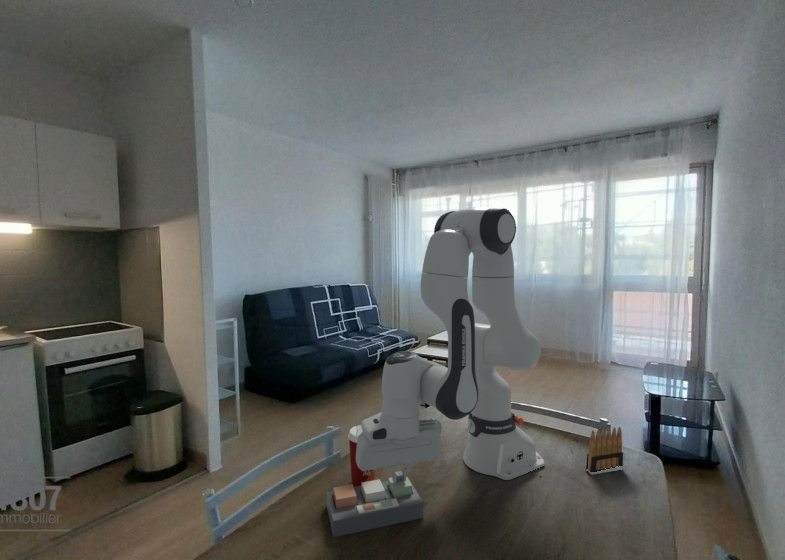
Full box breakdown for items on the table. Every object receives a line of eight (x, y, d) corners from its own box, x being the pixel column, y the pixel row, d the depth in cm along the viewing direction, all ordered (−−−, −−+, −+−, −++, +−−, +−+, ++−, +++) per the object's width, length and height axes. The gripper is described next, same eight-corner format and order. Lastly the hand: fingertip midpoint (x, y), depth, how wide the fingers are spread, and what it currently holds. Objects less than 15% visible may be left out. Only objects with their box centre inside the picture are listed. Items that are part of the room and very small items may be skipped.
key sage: (405, 484, 91) (405, 474, 91) (412, 495, 87) (412, 485, 87) (388, 487, 90) (388, 477, 90) (393, 499, 86) (393, 488, 86)
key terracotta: (352, 494, 88) (352, 484, 87) (356, 506, 83) (356, 495, 83) (333, 497, 86) (333, 487, 86) (336, 510, 82) (336, 499, 82)
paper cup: (373, 495, 92) (374, 439, 91) (343, 491, 93) (343, 436, 92) (381, 476, 100) (381, 425, 99) (353, 473, 101) (353, 422, 100)
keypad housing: (407, 490, 94) (408, 475, 93) (423, 517, 84) (423, 500, 84) (326, 506, 88) (326, 489, 87) (333, 537, 78) (333, 518, 78)
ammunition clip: (590, 475, 101) (592, 432, 100) (585, 471, 103) (587, 429, 102) (623, 470, 104) (625, 427, 103) (617, 466, 106) (619, 424, 105)
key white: (379, 489, 89) (379, 479, 89) (384, 500, 85) (385, 490, 85) (361, 492, 88) (361, 482, 88) (365, 504, 84) (365, 494, 84)
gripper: (436, 412, 94) (434, 466, 94) (354, 422, 87) (353, 480, 88) (447, 423, 88) (445, 481, 88) (360, 434, 81) (359, 496, 82)
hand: (399, 480), depth 88 cm, fingers closed
